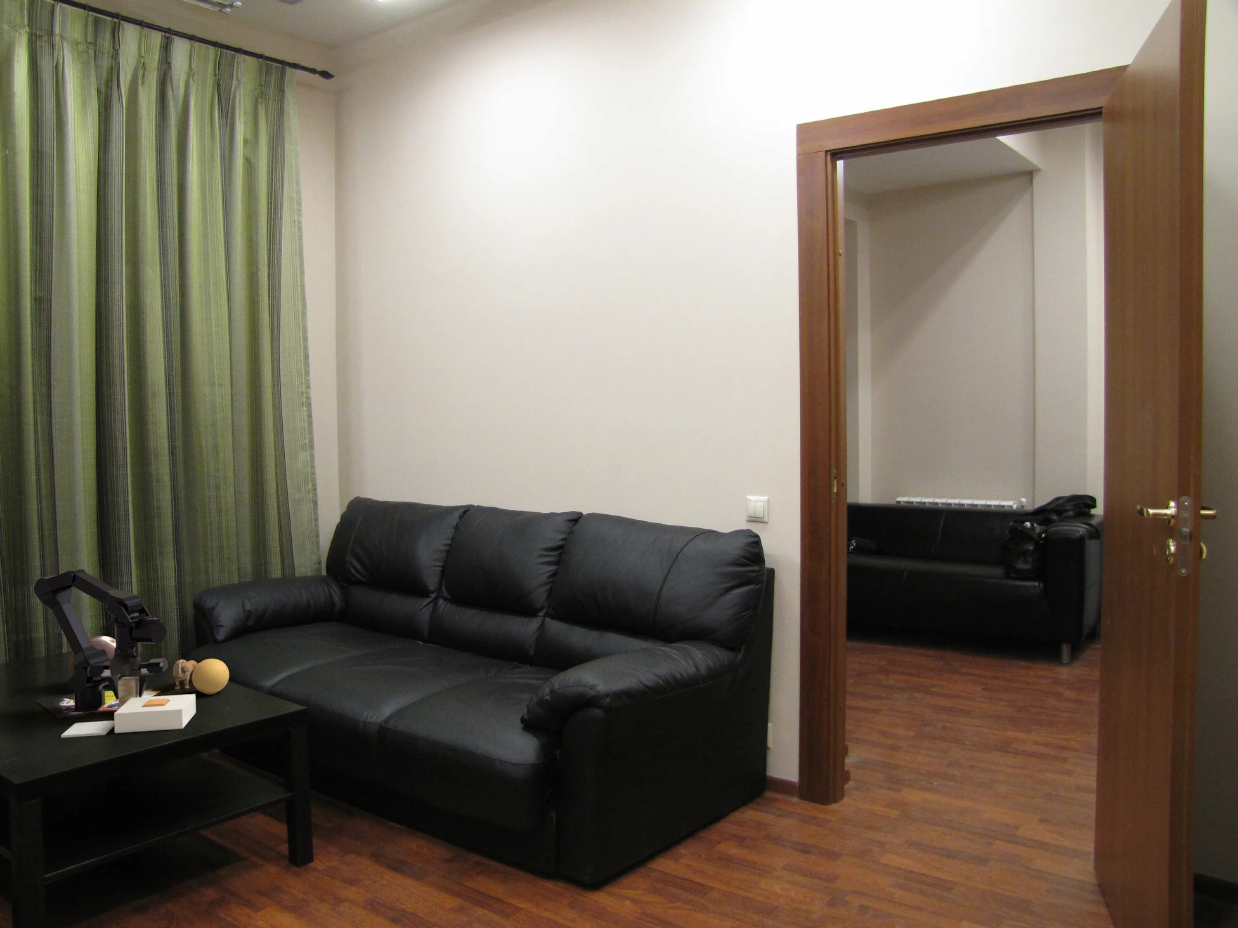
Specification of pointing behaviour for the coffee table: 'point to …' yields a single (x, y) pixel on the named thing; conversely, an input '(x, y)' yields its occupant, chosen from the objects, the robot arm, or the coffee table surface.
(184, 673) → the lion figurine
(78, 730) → the mat
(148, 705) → the button
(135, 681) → the wooden block
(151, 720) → the breaker housing
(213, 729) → the coffee table surface
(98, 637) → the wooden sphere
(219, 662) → the stress ball
